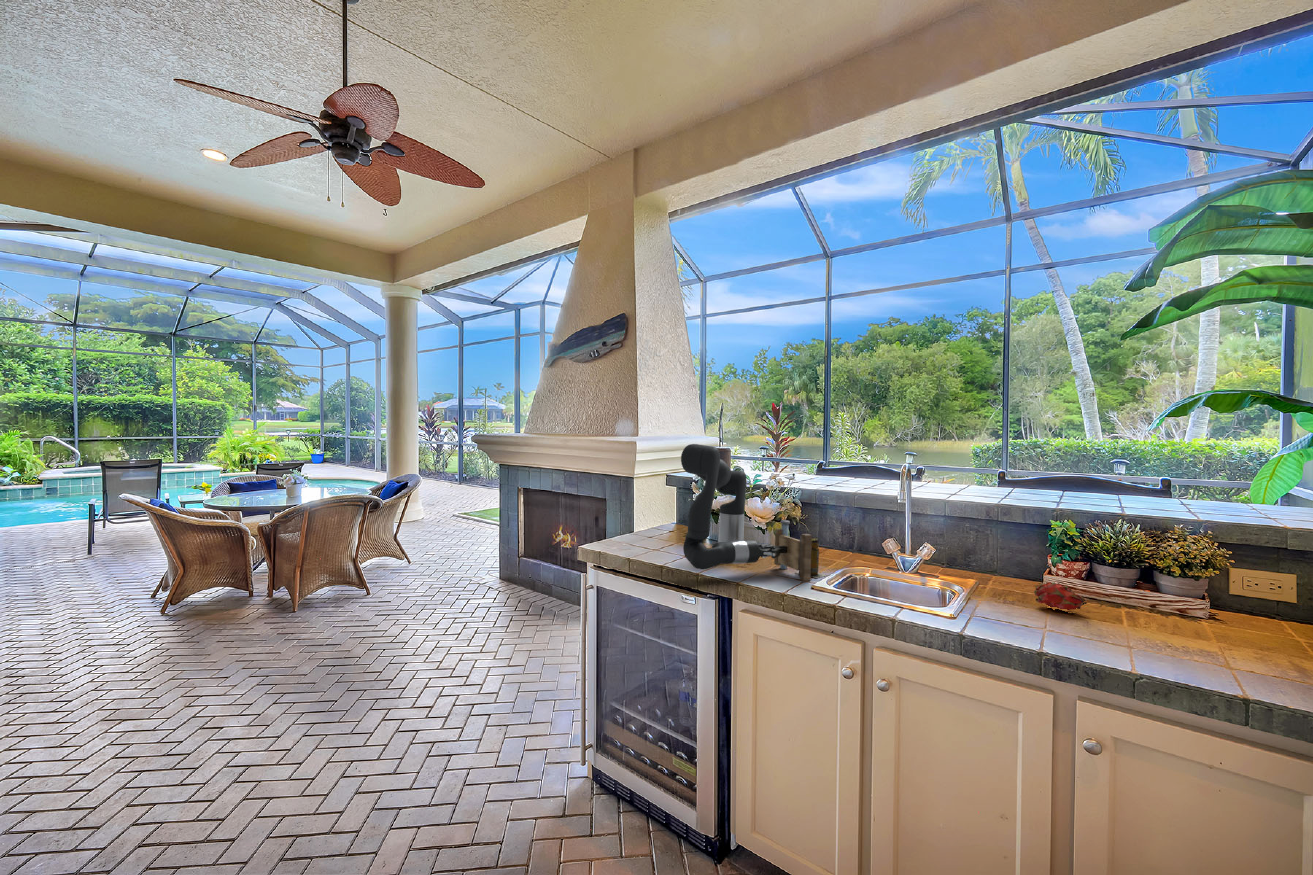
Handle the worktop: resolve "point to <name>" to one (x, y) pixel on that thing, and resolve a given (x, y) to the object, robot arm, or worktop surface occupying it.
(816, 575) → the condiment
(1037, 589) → the dragon fruit
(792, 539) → the gate
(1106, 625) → the worktop surface
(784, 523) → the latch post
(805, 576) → the hinge post
